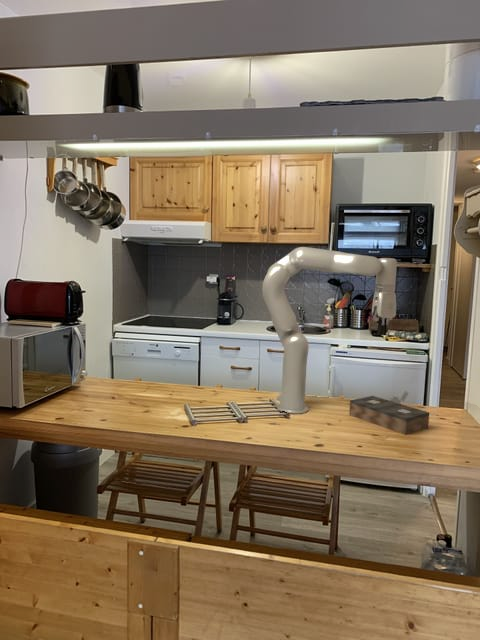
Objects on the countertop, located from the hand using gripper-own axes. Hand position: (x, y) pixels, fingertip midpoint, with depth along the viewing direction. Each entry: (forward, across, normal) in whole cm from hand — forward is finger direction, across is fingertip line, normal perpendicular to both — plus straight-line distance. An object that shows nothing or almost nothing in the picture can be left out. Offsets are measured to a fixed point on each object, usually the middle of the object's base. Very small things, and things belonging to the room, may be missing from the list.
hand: (381, 334), depth 194 cm
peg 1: (+32, -6, -3) cm, 33 cm away
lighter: (+32, +12, -2) cm, 35 cm away
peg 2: (+32, -6, -17) cm, 37 cm away
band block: (+32, -6, -10) cm, 34 cm away
